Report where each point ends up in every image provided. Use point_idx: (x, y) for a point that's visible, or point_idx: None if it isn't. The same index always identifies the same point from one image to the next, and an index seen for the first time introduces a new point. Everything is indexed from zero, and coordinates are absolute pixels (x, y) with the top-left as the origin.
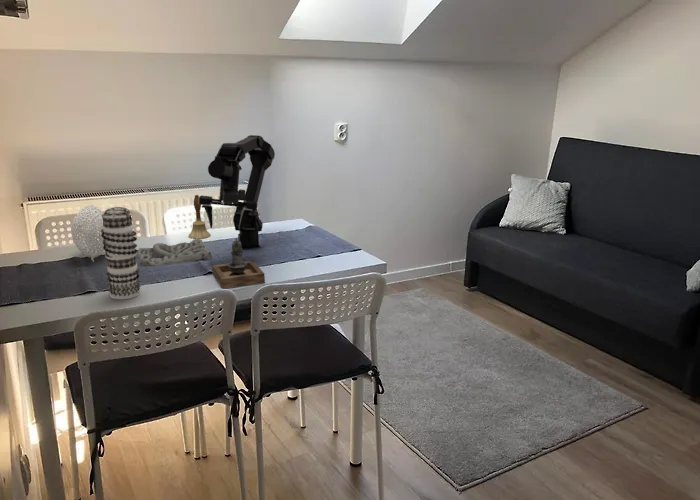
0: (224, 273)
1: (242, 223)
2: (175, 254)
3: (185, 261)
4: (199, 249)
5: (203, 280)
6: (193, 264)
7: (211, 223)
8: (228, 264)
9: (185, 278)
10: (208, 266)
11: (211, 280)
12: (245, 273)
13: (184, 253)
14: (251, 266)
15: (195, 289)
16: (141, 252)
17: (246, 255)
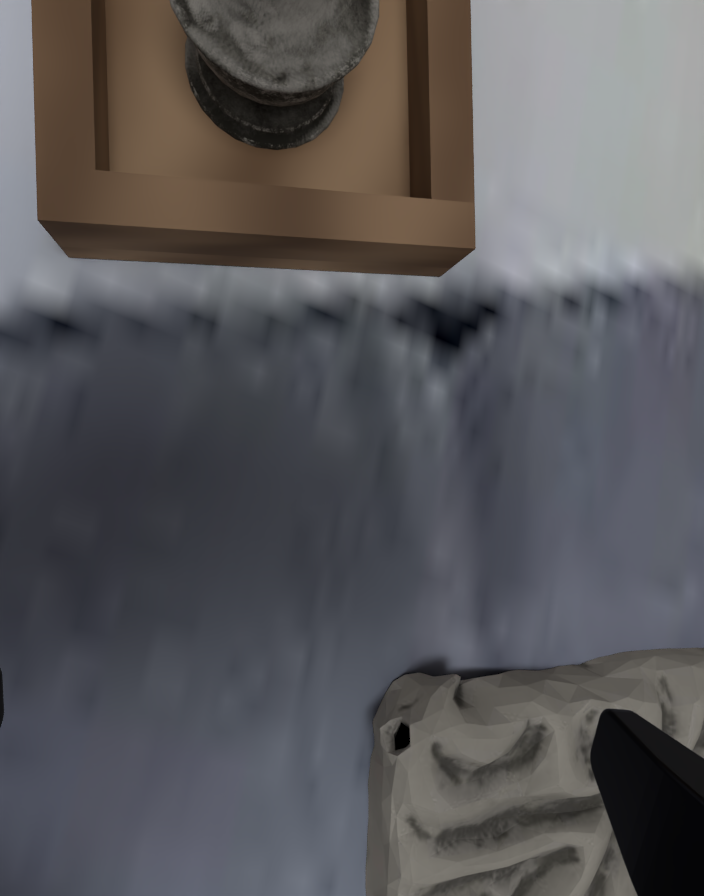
0: (367, 176)
1: None
2: None
3: (580, 667)
4: (475, 858)
5: (523, 181)
6: (532, 584)
7: (691, 766)
8: (369, 23)
9: (627, 282)
10: (434, 495)
11: None
12: (190, 64)
13: None
14: (97, 93)
15: (599, 28)
16: None
17: (20, 718)
